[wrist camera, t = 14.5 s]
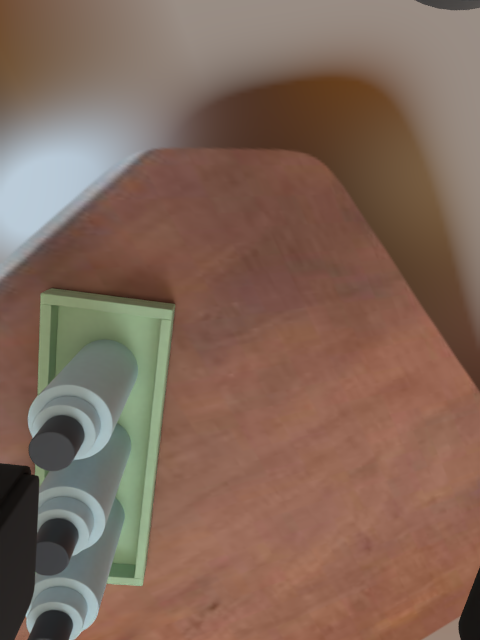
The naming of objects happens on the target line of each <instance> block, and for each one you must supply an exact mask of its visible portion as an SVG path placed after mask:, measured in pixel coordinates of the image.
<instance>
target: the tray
mask: <svg viewBox="0 0 480 640" xmlns="http://www.w3.org/2000/svg"><path fill="white" fill-rule="evenodd" d="M40 303H41V304H40V332H39V363H38V394H37V396H38V395H39V394H40V393H41V392H42V391H43V390H44V389H45V388H46V387H47V385H48V384H49V383H50V382H51V381H52V380H53V379H54V378H55V377H56V376H57V375H58V374H59V373H60V372H61V371H62V369H63V368H64V367H65V366H66V365H67V364H68V363H69V362H70V361H71V360H72V359H73V358H74V357H75V356H76V355H77V354H78V352H79V351H80V350H81V349H82V348H83V347H84V346H86V345H87V344H89V343H91V342H93V341H96V340H103V339H106V340H113V341H116V342H119V343H121V344H123V345H124V346H126V347H127V348H128V349H129V350H130V351H131V352H132V353H133V355H134V357H135V359H136V361H137V365H138V376H137V379H136V382H135V384H134V386H133V388H132V391H131V393H130V395H129V397H128V399H127V402H126V404H125V406H124V408H123V411H122V413H121V415H120V417H119V419H118V422H117V423H118V424H119V425H121V426H122V427H123V428H124V429H125V430H126V431H127V433H128V435H129V437H130V440H131V452H130V455H129V458H128V461H127V464H126V467H125V470H124V473H123V476H122V479H121V482H120V484H119V487H118V490H117V493H116V496H115V498H116V499H117V500H118V501H119V502H120V503H121V505H122V507H123V509H124V513H125V519H124V523H123V527H122V530H121V534H120V538H119V541H118V545H117V548H116V552H115V555H114V559H113V562H112V566H111V569H110V573H109V576H108V580H107V583H106V584H119V585H135V586H142V585H143V580H144V575H145V570H146V562H147V553H148V544H149V535H150V526H151V517H152V509H153V500H154V491H155V482H156V473H157V464H158V455H159V446H160V437H161V428H162V419H163V410H164V401H165V392H166V383H167V374H168V365H169V356H170V347H171V338H172V329H173V320H174V311H175V304H171V303H163V302H155V301H148V300H140V299H132V298H124V297H116V296H109V295H101V294H93V293H85V292H78V291H70V290H62V289H54V288H51V289H49V290H47V291H45V292H43V293H41V301H40ZM48 473H49V471H47V470H44V469H42V468H40V467H38V466H37V465H36V464H35V475H37V476H39V487H40V486H41V484H42V482H43V481H44V479H45V478H46V476H47V474H48ZM35 575H36V572H35Z"/></svg>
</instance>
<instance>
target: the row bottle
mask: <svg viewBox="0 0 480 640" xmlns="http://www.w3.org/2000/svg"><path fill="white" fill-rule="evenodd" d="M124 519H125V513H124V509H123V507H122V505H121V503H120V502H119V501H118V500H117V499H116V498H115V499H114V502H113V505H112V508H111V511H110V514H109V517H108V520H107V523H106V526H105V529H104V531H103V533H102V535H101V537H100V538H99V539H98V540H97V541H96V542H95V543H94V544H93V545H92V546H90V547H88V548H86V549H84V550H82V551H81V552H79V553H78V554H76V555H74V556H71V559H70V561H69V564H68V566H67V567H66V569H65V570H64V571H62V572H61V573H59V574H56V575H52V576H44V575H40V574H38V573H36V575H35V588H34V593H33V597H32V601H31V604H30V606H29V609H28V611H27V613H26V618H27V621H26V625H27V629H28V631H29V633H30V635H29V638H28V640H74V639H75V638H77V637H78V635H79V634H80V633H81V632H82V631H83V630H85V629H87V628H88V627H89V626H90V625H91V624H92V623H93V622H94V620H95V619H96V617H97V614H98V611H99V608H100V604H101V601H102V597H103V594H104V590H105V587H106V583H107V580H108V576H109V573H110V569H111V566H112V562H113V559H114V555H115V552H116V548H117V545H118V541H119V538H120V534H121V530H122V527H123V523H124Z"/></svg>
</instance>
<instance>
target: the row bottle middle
mask: <svg viewBox="0 0 480 640" xmlns="http://www.w3.org/2000/svg"><path fill="white" fill-rule="evenodd" d="M130 452H131V440H130V437H129V435H128V433H127V431H126V430H125V429H124V428H123V427H122V426H121V425H119V424H118V423H117V424H116V426H115V428H114V431H113V433H112V435H111V437H110V439H109V441H108V443H107V444H106V445H105V446H104V448H103V449H101V450H100V451H99V452H97V453H96V454H94V455H92V456H90V457H87V458H84V459H77V460H73V461H72V463H71V464H70V465H69V466H68V467H66V468H64V469H62V470H59V471H49V473H48V474H47V476H46V478H45V479H44V481H43V482H42V484H41V486H40V487H39V503H38V525H37V548H36V570H35V572H36V573H38V574H40V575H44V576H52V575H56V574H59V573H61V572H62V571H64V570H65V569H66V567H67V566H68V564H69V561H70V559H71V556H74V555H76V554H78V553H79V552H81V551H82V550H84V549H86V548H88V547H90V546H92V545H93V544H94V543H95V542H96V541H97V540H98V539H99V538H100V537H101V535H102V533H103V531H104V529H105V526H106V523H107V520H108V517H109V514H110V511H111V508H112V505H113V502H114V499H115V496H116V493H117V490H118V487H119V484H120V482H121V479H122V476H123V473H124V470H125V467H126V464H127V461H128V458H129V455H130Z"/></svg>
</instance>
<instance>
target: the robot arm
mask: <svg viewBox="0 0 480 640" xmlns="http://www.w3.org/2000/svg"><path fill="white" fill-rule="evenodd" d="M38 503H39V476H37V475H31V470H30V467H28V466H21V465H11V464H2V463H0V640H14V639H15V637H16V635H17V633H18V631H19V628H20V626H21V624H22V622H23V620H24V618H25V616H26V613H27V611H28V609H29V606H30V604H31V601H32V597H33V593H34V588H35V570H36V548H37V525H38ZM459 634H460V638H461V640H480V568H479V571H478V573H477V576H476V578H475V581H474V584H473V586H472V589H471V591H470V594H469V596H468V599H467V602H466V604H465V607H464V609H463V612H462V615H461V617H460V620H459Z"/></svg>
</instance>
